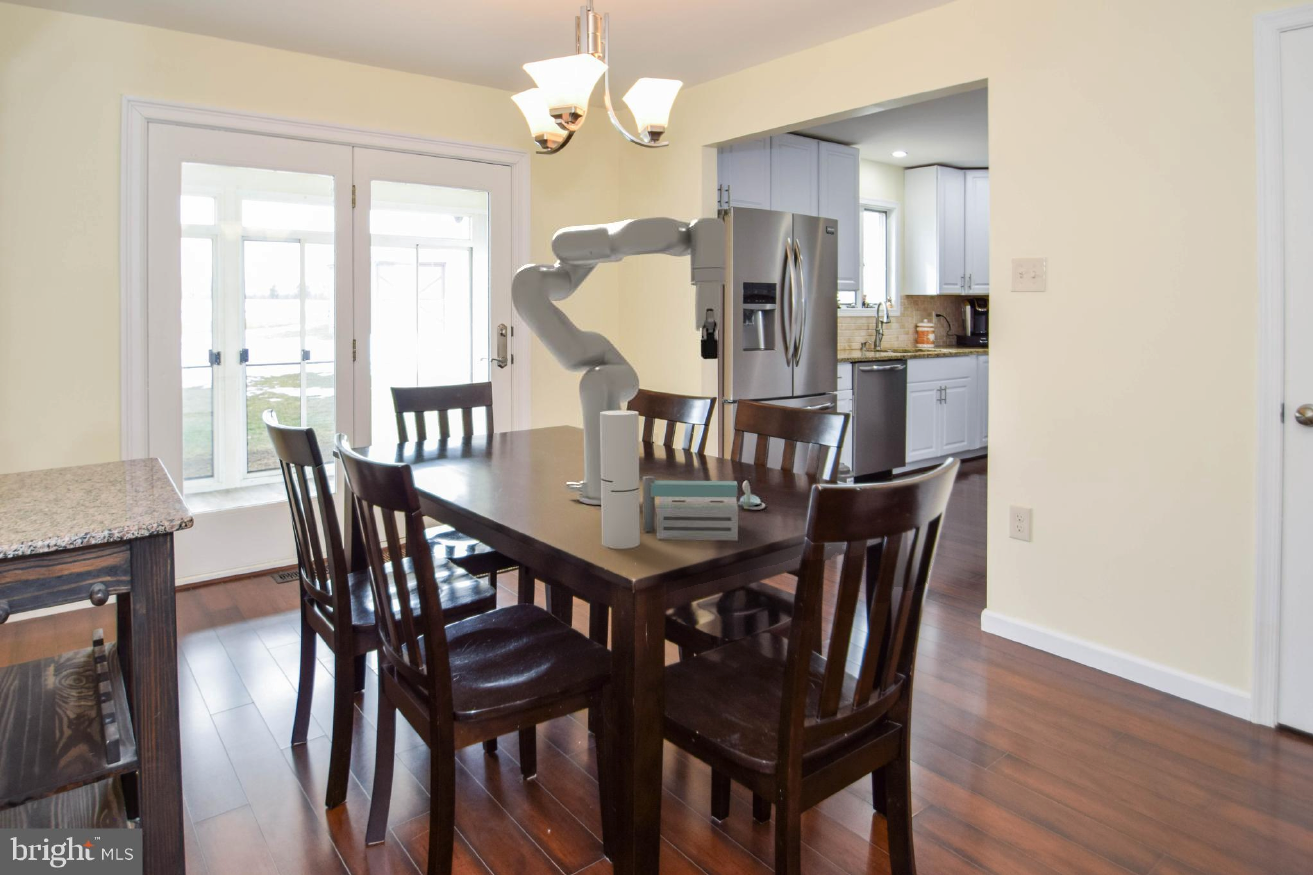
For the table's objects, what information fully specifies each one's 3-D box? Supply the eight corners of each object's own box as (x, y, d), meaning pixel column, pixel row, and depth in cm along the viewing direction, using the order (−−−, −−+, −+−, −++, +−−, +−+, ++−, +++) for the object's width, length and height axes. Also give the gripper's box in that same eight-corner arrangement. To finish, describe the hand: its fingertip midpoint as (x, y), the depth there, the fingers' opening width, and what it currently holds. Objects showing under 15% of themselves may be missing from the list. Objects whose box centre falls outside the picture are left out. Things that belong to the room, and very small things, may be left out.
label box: (657, 539, 154) (656, 507, 153) (660, 523, 166) (660, 493, 165) (737, 540, 153) (738, 508, 152) (735, 524, 165) (735, 494, 164)
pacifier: (766, 505, 184) (740, 503, 185) (768, 478, 183) (742, 476, 184) (763, 512, 177) (736, 510, 178) (764, 485, 176) (737, 483, 177)
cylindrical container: (617, 536, 157) (615, 409, 153) (647, 542, 153) (646, 411, 149) (594, 544, 151) (592, 413, 147) (624, 550, 147) (623, 415, 143)
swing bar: (642, 531, 159) (641, 479, 157) (643, 527, 162) (643, 475, 161) (736, 533, 158) (737, 479, 156) (736, 528, 161) (736, 476, 160)
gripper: (689, 280, 180) (690, 357, 182) (691, 275, 163) (693, 360, 165) (723, 279, 180) (723, 356, 182) (728, 275, 163) (729, 359, 165)
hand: (709, 358), depth 174 cm, fingers open, 9 cm apart
